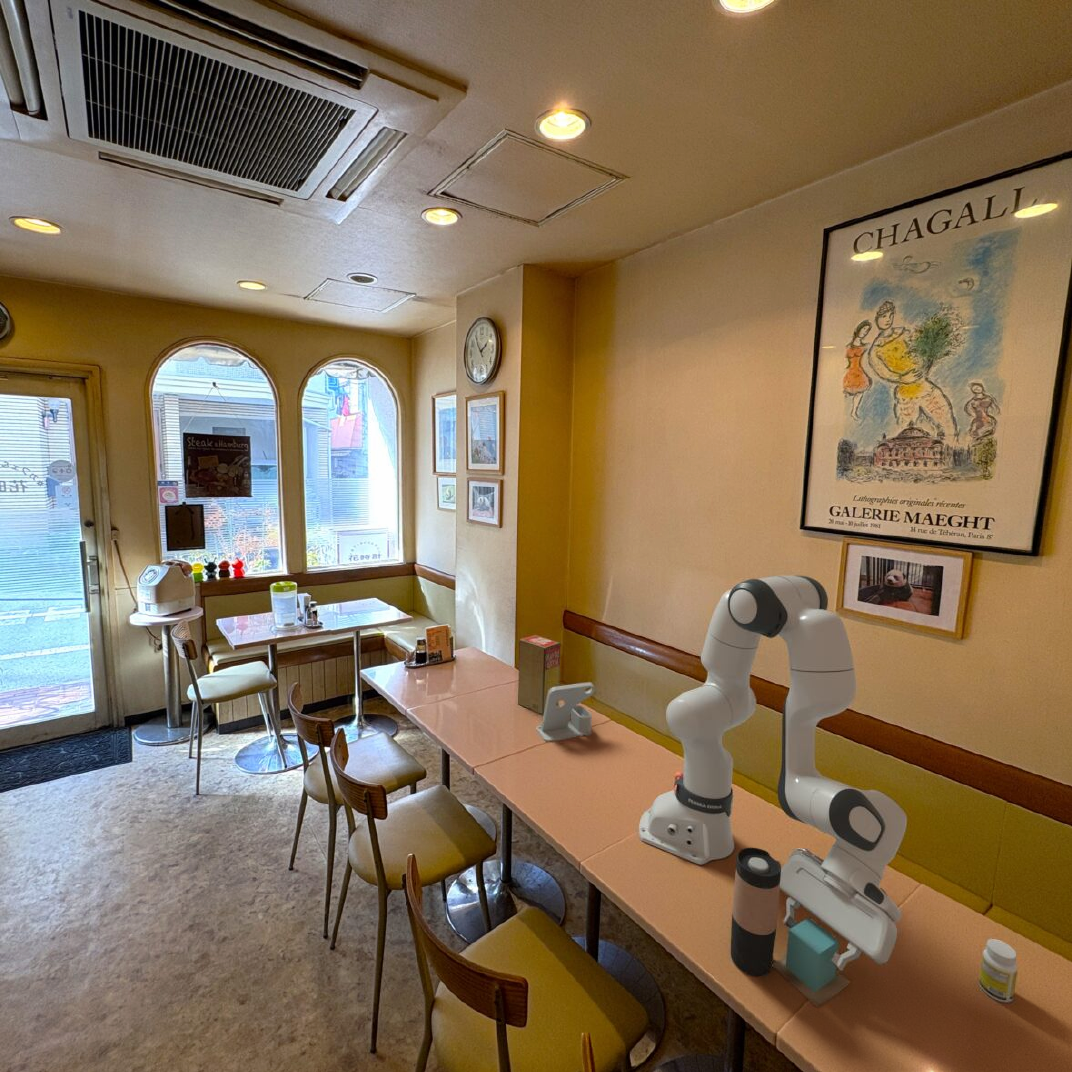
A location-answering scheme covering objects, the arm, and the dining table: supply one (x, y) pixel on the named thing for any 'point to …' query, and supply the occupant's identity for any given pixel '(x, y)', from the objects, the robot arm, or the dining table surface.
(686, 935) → the dining table surface
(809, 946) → the teal rectangular block
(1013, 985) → the supplement bottle
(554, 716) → the phone holder
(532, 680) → the food packaging
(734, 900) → the travel mug
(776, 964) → the flat square base
